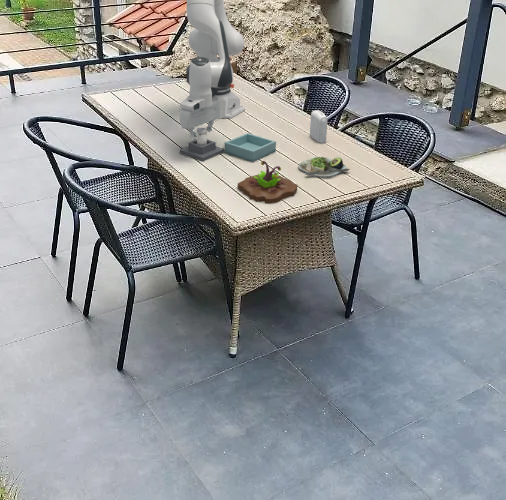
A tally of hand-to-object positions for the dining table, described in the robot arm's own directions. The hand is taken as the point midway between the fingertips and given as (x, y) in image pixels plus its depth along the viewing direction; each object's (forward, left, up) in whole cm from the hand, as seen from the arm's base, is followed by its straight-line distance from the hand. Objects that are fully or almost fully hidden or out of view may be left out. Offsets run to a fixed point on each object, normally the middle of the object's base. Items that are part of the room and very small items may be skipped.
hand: (201, 134), depth 264 cm
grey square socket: (0, 0, -8) cm, 8 cm away
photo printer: (-45, +27, -8) cm, 53 cm away
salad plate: (-19, +47, -9) cm, 52 cm away
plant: (+11, +42, -9) cm, 44 cm away
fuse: (0, 0, -8) cm, 8 cm away
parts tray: (-14, +14, -8) cm, 22 cm away
